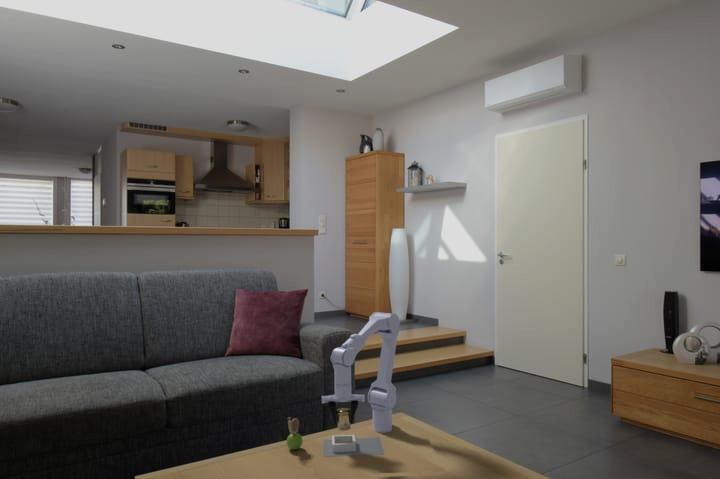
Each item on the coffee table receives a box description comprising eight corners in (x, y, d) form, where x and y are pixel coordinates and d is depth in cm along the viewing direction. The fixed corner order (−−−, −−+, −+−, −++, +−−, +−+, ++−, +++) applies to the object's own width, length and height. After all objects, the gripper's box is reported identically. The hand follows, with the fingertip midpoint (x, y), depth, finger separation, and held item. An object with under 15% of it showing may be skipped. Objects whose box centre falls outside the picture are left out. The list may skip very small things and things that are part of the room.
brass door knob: (336, 426, 171) (335, 408, 171) (351, 424, 171) (350, 407, 172) (337, 431, 166) (336, 413, 166) (352, 430, 166) (350, 412, 167)
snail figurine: (282, 452, 168) (281, 416, 168) (291, 445, 174) (291, 410, 174) (296, 454, 166) (295, 418, 166) (305, 447, 172) (305, 412, 172)
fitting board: (323, 442, 175) (323, 432, 175) (379, 440, 177) (379, 430, 177) (323, 459, 161) (323, 448, 161) (384, 457, 163) (384, 446, 163)
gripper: (321, 387, 165) (322, 428, 164) (365, 385, 166) (365, 426, 165) (321, 381, 172) (322, 420, 172) (363, 380, 173) (363, 419, 173)
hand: (343, 423), depth 169 cm, fingers closed on brass door knob, 5 cm apart
